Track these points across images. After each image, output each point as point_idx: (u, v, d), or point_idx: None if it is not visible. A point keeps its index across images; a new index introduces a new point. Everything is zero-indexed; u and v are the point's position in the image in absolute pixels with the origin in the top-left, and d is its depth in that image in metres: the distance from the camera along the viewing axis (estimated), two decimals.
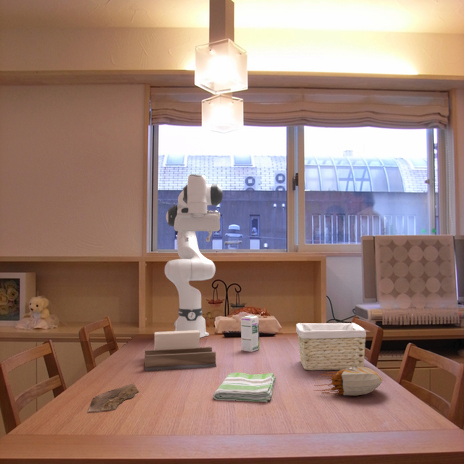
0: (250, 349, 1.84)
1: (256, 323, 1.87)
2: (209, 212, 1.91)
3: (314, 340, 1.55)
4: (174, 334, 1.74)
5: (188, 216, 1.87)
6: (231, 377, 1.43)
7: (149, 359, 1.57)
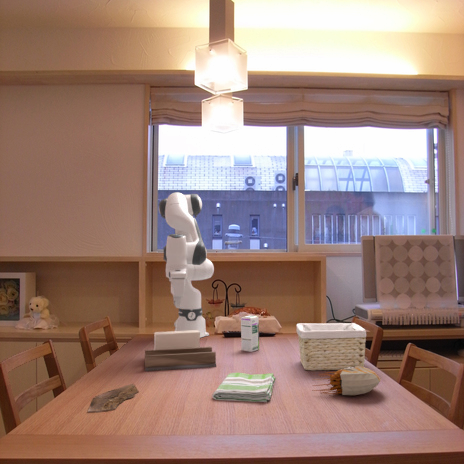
0: (250, 349, 1.84)
1: (256, 323, 1.87)
2: None
3: (314, 340, 1.54)
4: (174, 334, 1.74)
5: None
6: (231, 377, 1.43)
7: (149, 359, 1.57)
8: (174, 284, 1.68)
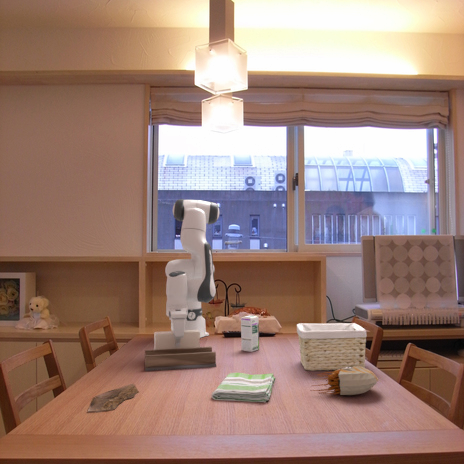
0: (250, 349, 1.84)
1: (256, 323, 1.87)
2: None
3: (314, 340, 1.54)
4: None
5: None
6: (231, 377, 1.43)
7: (149, 359, 1.57)
8: (174, 325, 1.67)
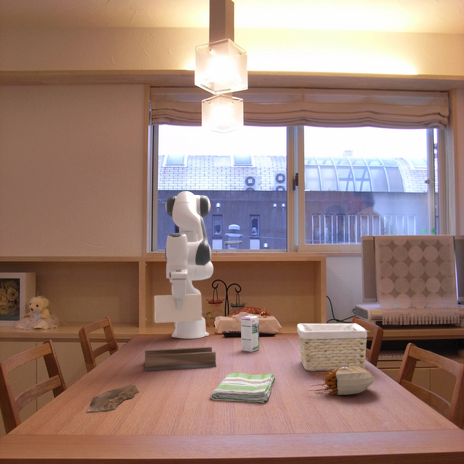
0: (250, 349, 1.84)
1: (256, 323, 1.87)
2: None
3: (315, 340, 1.54)
4: None
5: None
6: (230, 377, 1.43)
7: (149, 359, 1.57)
8: (175, 285, 1.60)
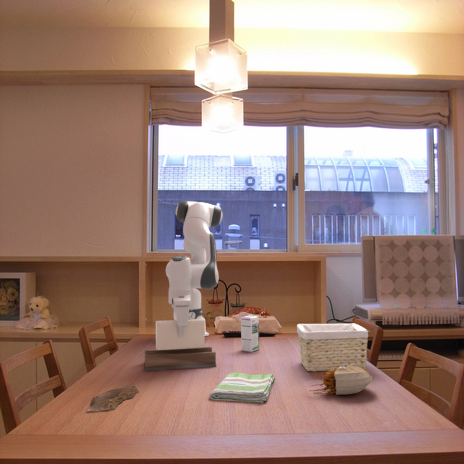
0: (250, 349, 1.84)
1: (256, 323, 1.87)
2: None
3: (316, 341, 1.53)
4: None
5: None
6: (230, 377, 1.43)
7: (149, 359, 1.57)
8: (178, 312, 1.55)
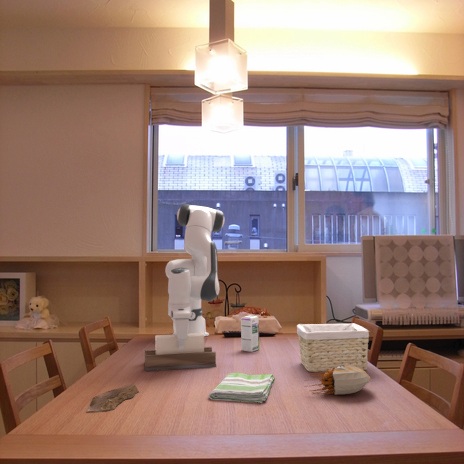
0: (250, 349, 1.84)
1: (256, 323, 1.87)
2: None
3: (318, 341, 1.53)
4: None
5: None
6: (230, 377, 1.43)
7: (149, 359, 1.57)
8: (177, 325, 1.55)
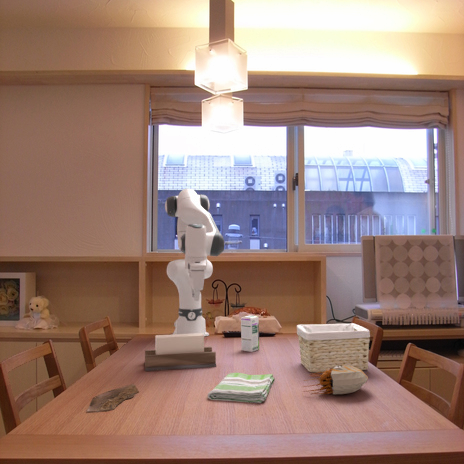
0: (250, 349, 1.84)
1: (256, 323, 1.87)
2: None
3: (319, 342, 1.52)
4: (177, 337, 1.62)
5: None
6: (229, 377, 1.43)
7: (149, 359, 1.57)
8: (194, 276, 1.62)
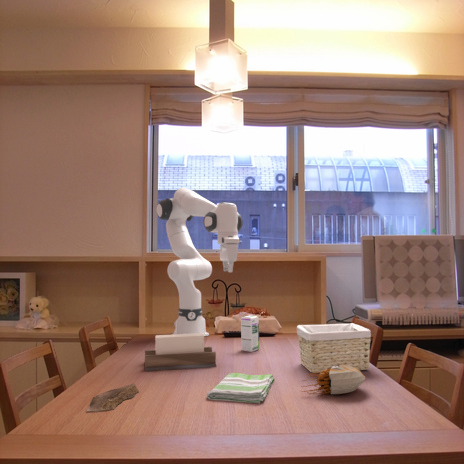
0: (250, 349, 1.84)
1: (256, 323, 1.87)
2: None
3: (321, 342, 1.51)
4: (177, 337, 1.62)
5: None
6: (229, 377, 1.43)
7: (149, 359, 1.57)
8: (228, 248, 1.75)
